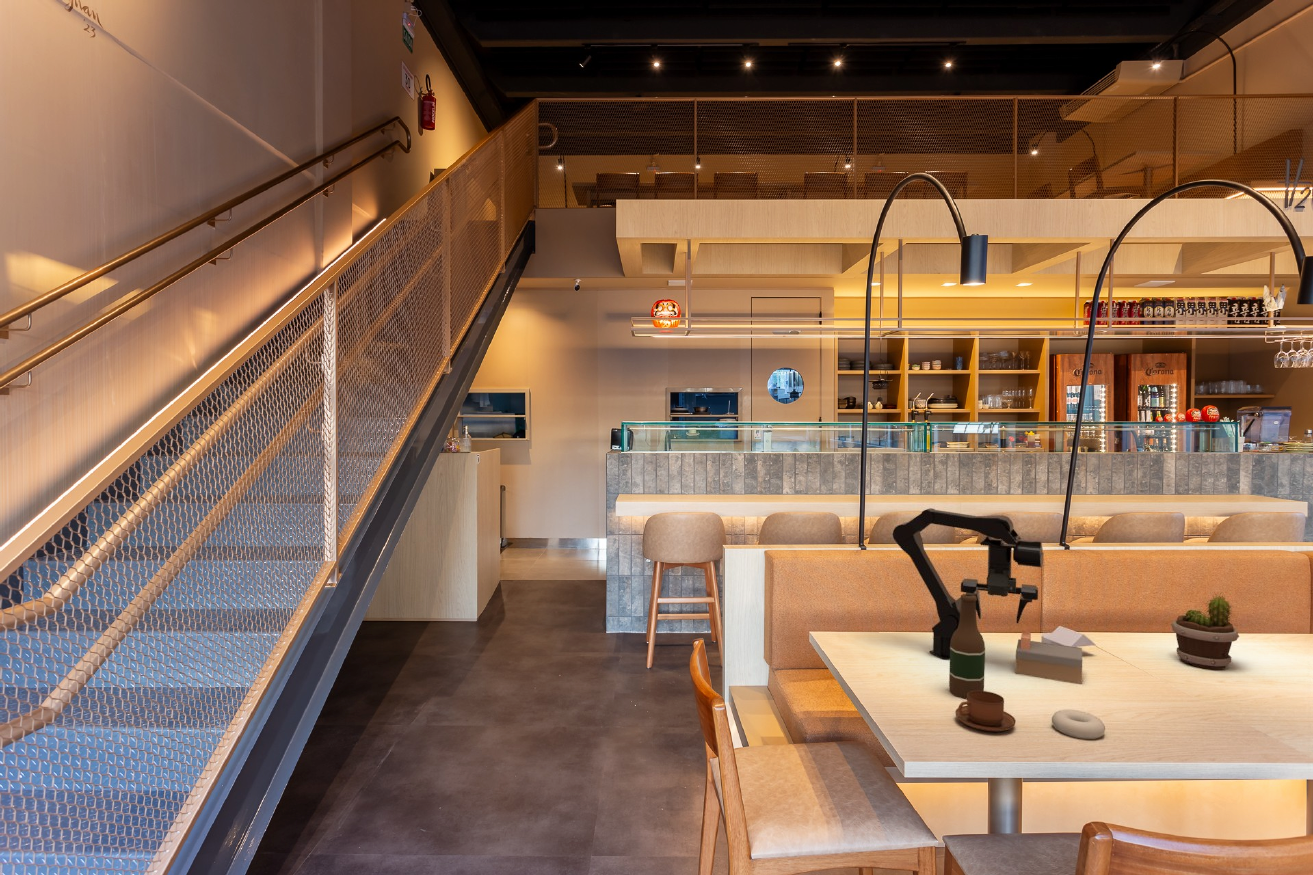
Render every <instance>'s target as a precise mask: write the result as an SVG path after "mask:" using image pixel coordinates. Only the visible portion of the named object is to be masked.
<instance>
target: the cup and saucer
mask: <svg viewBox="0 0 1313 875" xmlns="http://www.w3.org/2000/svg"><path fill="white" fill-rule="evenodd" d="M954 713H955V716H956V718H957V719H958V720H959V721H960V722H961V723H963V724H964V725H966V726H968V727H970V728H974V729H977V730H980V731H987V732H1003V731H1005V732H1006V731H1008V730H1010V729H1012V728H1013V727H1015V725H1016V718H1015V717H1014V716H1013V715H1012V714H1011V713H1009V712H1006V711H1005V698H1004V697H1003V696H1001V695H1000V694H997V693H995V692H991V691H987V690H984V691H971V692H969V693H968V694H967V699H966V701H962V702H960V704H959V705H958V708H956V710H955V712H954Z"/></svg>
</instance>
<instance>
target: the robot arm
mask: <svg viewBox="0 0 1313 875" xmlns="http://www.w3.org/2000/svg"><path fill="white" fill-rule="evenodd" d="M931 524H932V525H933V524H934V525H939V526H944V527H951V528H956V529H963V530H969V531H970V530H971V531H974V532H977V533H979V534H981V535H983V536H986V537H985V538H984V539H983V541H981V542H980V543H979V544H980V546H984V547H985V546H986V547H987V548H988V549H987V577H986V583H979V579H973V578H963V579H962V580H961V583H960V592H961V593H964V594H972V595H974V596H976V598H977V601H976V615H977V617H978V619H979V620H981V618H982V609H981V608H982V607H981V598H980V591H981V592H982V591H984V592H987V594H988V595H989V596H1001V597H1004V598H1005V597H1007V596H1008V594H1010V595H1011V594H1012V595H1020V596H1019V602H1018V608H1017V612H1016V613H1017V614H1016V624H1019V622H1020V619H1021V616H1022V614H1023V611H1024V610H1025V608H1026V607H1027V605H1028V604H1029V603H1033V601H1038V600H1039V587H1038V586H1037V585H1033V584H1023V583H1022V584H1021V586H1017V577H1012V559H1013V561H1014V562H1015V563H1017V566H1023V567H1033V568H1042V567H1043V564H1044V557H1045V556H1044V550H1043V549H1044V548H1043V541H1041V540H1024V539H1022V538H1021V536H1020V534H1018V533H1017V530H1015V528H1014V523H1013V521H1012V519H1011V518H1010V517H1009V516H1008V515H1007V516H1006V515H1002V514H1001V515H997V514H996V515H994V514H993V515H972V514H964V513H958V512H951V511H946V510H939V509H938V510H937V509H935V508H931V507H930V508H927V509H923V511H921V513H920V514H918V515H917V516H915V517H914V518H912V519H911V520H909V521H908V522H903V523H901V524H898V525H897V526H895V527H894V528H893V531H892V537H893V540H894V542H895V543H896V544H897V545H898V546H899V548H900V549H901V550H902V551H903V552H904V553H906V555H908V557H910V559H911V561H912V563H913V565H914V566H915V568H916V571H917V572H918V574H919V575H920V577H921V579H922V581H923V583H924V585H925V586H926V589H927V590H928V592H929V593H930V595H931V597H932V599H933V600H934V602H935V607H936V612H937V616H938V619H939V621H938V622H936V624H935V625H934V626H932V627H931V630H932V634H933V635H932V636H933V637H932V639H933V640H932V641H933V642H932V649H931V650H930V649H929V653H930V654H931V655H934V656H936V657H938V658H940V659H942V660H950V643H951V638H952V636H953V633H954V632H955V631H956V630H957V628H958V626H959V621H960V610H961V599H960V597H958V598H957V599H955V598H954V597H953V596H952V595H951V594H950V593H949V591H948V589H947V588H946V585H945V583H943V582H944V581H943V580H942V579H941V577H940V575H939V572H937V570H936V568H935V566H934V564H933V563H932V561H931V559H930V557H929V555H928V553H927V552H926V550H925V548H924V547H925V546H924V541H923V538H922V535H921V532H922V531H923V530H925V529H926V528H928V527H929V526H930V525H931ZM1012 551H1013V552H1012Z"/></svg>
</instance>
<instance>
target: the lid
mask: <svg viewBox="0 0 1313 875" xmlns="http://www.w3.org/2000/svg"><path fill="white" fill-rule="evenodd" d="M1021 632H1022V633H1021V637H1020V639H1018V640H1017V644H1016V649H1015V659H1016V658H1021V659H1028V660H1035V661H1041V662H1048V663H1055V664H1062V665H1068V666H1075V667H1082V668H1083V648H1082V647H1072V646H1064V645H1057V644H1050V643H1043V642H1042V641H1034V640H1031V639H1032V637H1031V636H1032V634H1031V631H1026V630H1022V631H1021Z"/></svg>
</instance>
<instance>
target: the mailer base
mask: <svg viewBox="0 0 1313 875" xmlns="http://www.w3.org/2000/svg"><path fill="white" fill-rule="evenodd" d="M1015 674H1016V675H1023V676H1029V677H1035V678H1042V679H1046V680H1047V679H1048V680H1055V681H1061V682H1068V683H1074V684H1078V685H1082V682H1083V680H1082V679H1083V666H1082V667H1075V666H1068V665H1062V664H1055V663H1048V662H1041V661H1035V660H1028V659H1021V658H1016V657H1015Z"/></svg>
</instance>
